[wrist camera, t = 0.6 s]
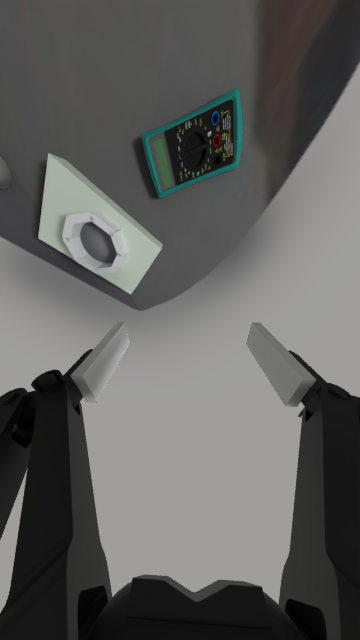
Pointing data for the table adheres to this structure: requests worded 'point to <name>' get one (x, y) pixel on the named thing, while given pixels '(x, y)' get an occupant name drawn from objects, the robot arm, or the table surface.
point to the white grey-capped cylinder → (4, 175)
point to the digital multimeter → (195, 145)
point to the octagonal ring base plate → (93, 227)
